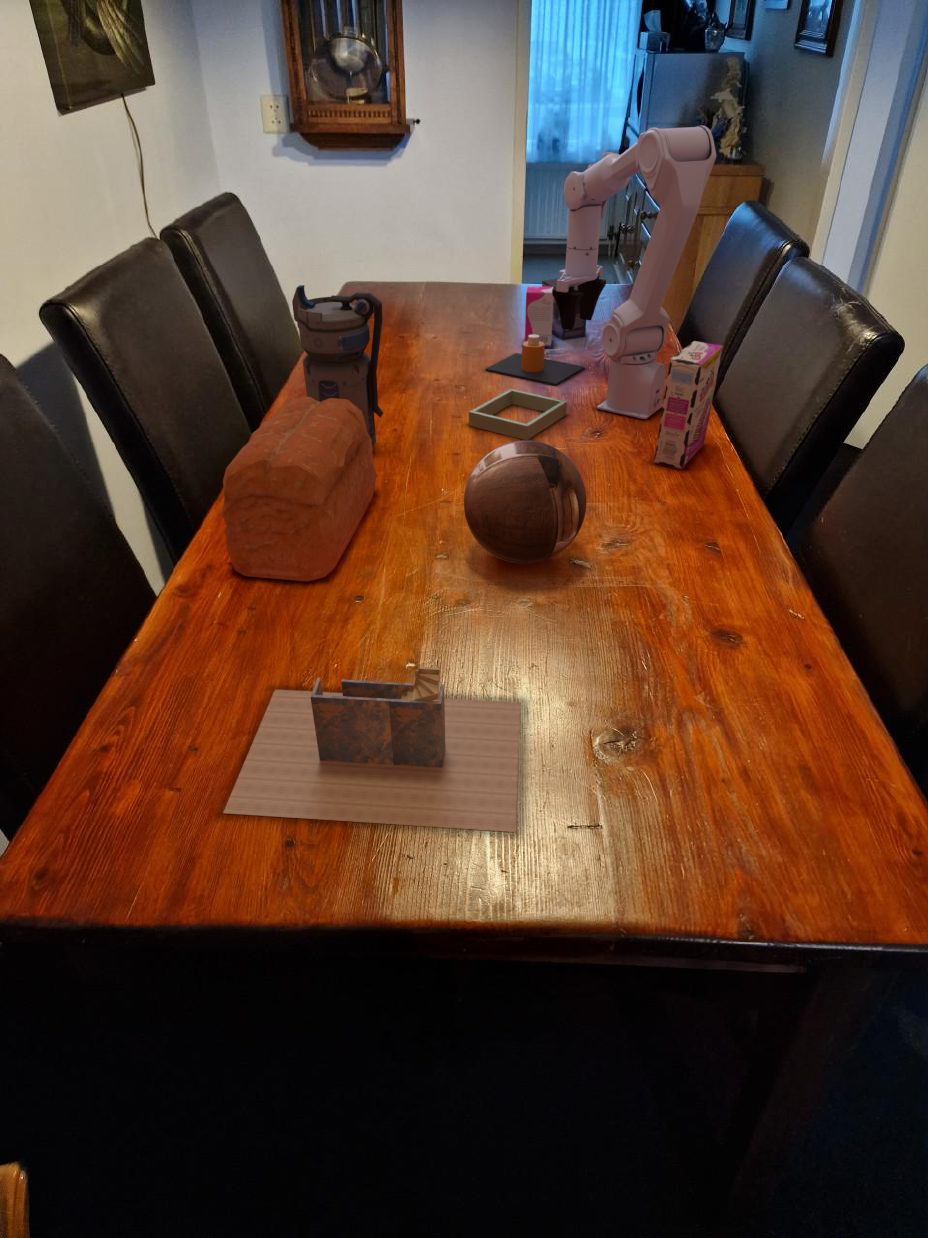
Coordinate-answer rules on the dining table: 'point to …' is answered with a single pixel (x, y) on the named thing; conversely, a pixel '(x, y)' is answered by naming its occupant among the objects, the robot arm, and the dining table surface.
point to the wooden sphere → (525, 502)
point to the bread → (298, 490)
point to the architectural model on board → (384, 757)
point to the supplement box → (539, 313)
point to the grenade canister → (341, 349)
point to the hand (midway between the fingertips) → (576, 324)
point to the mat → (549, 375)
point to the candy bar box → (687, 403)
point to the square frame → (486, 421)
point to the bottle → (533, 354)
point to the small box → (556, 323)
